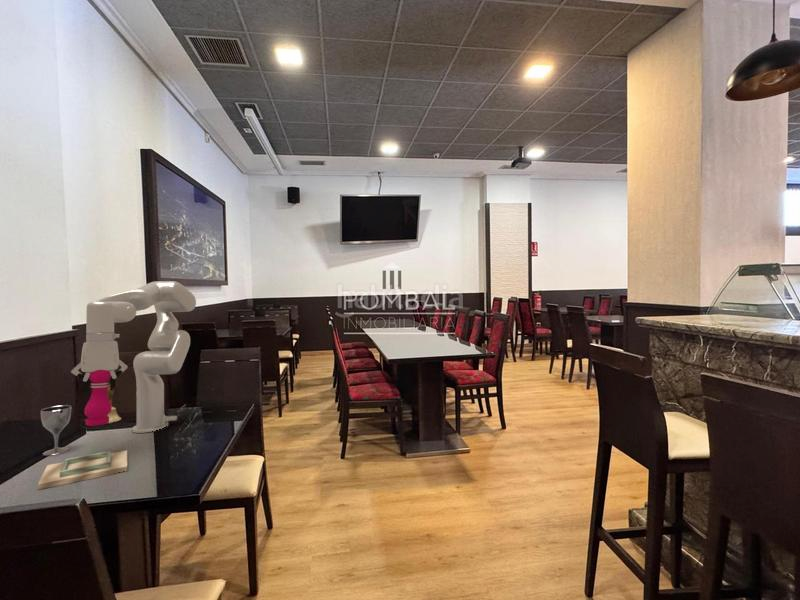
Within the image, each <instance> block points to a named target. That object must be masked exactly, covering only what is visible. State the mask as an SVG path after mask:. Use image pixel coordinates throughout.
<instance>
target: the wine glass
mask: <svg viewBox="0 0 800 600" xmlns="http://www.w3.org/2000/svg"><path fill="white" fill-rule="evenodd" d="M71 414H72V405H69V404H64V405H63V404H62V405H55V406H48V407H45V408H42V409H41V410H40V420H41V424H42V427H44V429H46V430H47V431H49V432H50V433H51V434H52V436H53V439H54V447H53V448H52V449H49V450H46V451H44V452H42V454H43V455H42V456H54V455H60V454H63V453H65V452H64V451H66V452H68V451H69V450H68V448H69V447H59V437H60V433H61V432H62V430H64V428H65V427H66V426H67V425H68V424H69V422H70V421H71V416H72V415H71ZM67 450H68V451H67ZM62 452H63V453H62Z"/></svg>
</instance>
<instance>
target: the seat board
mask: <svg viewBox="0 0 800 600" xmlns="http://www.w3.org/2000/svg"><path fill="white" fill-rule="evenodd" d="M123 471H125V472H128V450H122V451H117V452H112V451H111V450H108V451H102V452H97V453H96V452H95V453H92V454H86V455H80V456H75V457H70V458H65V459H64V460H63V462H58V463H56V462H55V463H52V464H47V465H46V467H45V469H44V471H43V473H42V475H41V477H40V478H39V481H38V482H37V483H38V484H37V490H38V491H40V490H44V489H49V488H53V487H59V486H64V485H69V484H72V483H77V482H82V481H86V480H92V479H95V478H96V479H97V478H101V477H102V478H103V477H105V476H111V475H115V474H114V473H116V474H119V473H118V472H121V473H124V472H123Z"/></svg>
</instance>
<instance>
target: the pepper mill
mask: <svg viewBox="0 0 800 600" xmlns="http://www.w3.org/2000/svg"><path fill="white" fill-rule="evenodd" d="M111 377H112V376H111V374H110V372H109V371H106V370H96V371H94V372H91V373H90V376H89V381H90V389H91V394H90V397H89V400H88V401H87V403H86V405H85V408H84V415H85V416H86V417H87V418H85V426H89V427H90V426H93V427H94V426H102V425H106V424H109V423H108V422H109V416H107V415H108V414H109V413H110V412H111V410H112V407H113V406H112V407H111V403H110V401H109V399H108V395H107V387H108V386H109V384H110V382H109V381H110V379H111Z"/></svg>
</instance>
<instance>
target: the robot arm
mask: <svg viewBox="0 0 800 600" xmlns="http://www.w3.org/2000/svg"><path fill="white" fill-rule="evenodd" d="M196 305H197V300H196V297H195V296H194V294H193V293H192V292H191V291H190V290H189V289H188V288H187V287H185V286H184V284H182V283H180V282H178V281H173V280H172V281H171V280H167V281H166V280H165V281H164V280H163V281H162V280H161V281H160V280H159V281H151V282H148V283H146V284H144V285H143V286H140V287H137V288H136V289H133V290H128V291H123V292H121V293H117V294H113V295H112V294H111V295H107V296H104V297H103V298H100V299H98V300H96V301H90V302H88V303H87V304H86V315H85V316H86V317H85V318H86V319H85V321H86V325H85V326H86V329H85V330H86V332H85V333H86V335H85V337H86V339H85V341H86V342H83V345H82V348H81V349H82V350H81V356H80V362H79V363H78V364H77V365H76V366H75V367H73V369H71V370H70V373H71V374H73V375H74V376H76V377H77V378H79V379H80V380H82V381H83V391H85V392H86V394H90V392H91V387H90V386H91V380H90V379H89V376H90V373H91V372H94V371H96V370H106V371H109V372H110V374H111V378H110V379H109V381H110V382H109V384H110V391H113V390H114V389H116V387H117V386H116V383H117V382H116V381H117V380H116V379H117V378H118V377H119V376H120V375H121V374H122V373H124V372H125V371H126V370H127V369H128V365H127V364H125V363H124V361H122V360H120V354H119V352H120V351H119V344H118V341H117V340H116V339H117V338H120V333H115V323H128V322H130V321H132V320H133V319H135V317H136V315H137V312H138V311H139V312H140V311H144V310H147V309H149V308H151V307H152V306H154V311H155V314H156V319H157V320H156V324H155V327H154V328H153V330H152V332H151V334H150V336H149V338H148V341H147V348H148V349H149V350H148V351H143V352H139V353H138V354H136V356H134V359H133V361H132V363H133V364H132V365H133V371H134V375H135V381H136V382H135V383H136V385H135V386H136V394H135V395H136V425H133V427H131V432H133V433H136V434H144V433H152V431H153V432H157V431H156V430H158V431H160V430H159V429H161V430H163V429H162V428H164V427H166V426H167V427H169V422H175V421H177V420H178V416H177V415H165V414H166V413H165V383H164V380H163V378H162V377H161V376H160V375H174V374H177V373H179V372H180V370H181V369H182V367H183V364H184V362H185V359H186V357H187V354H188V352H189V350H190V349H189V348H190V346H191V336H190V334H189V332H188V331H186V330H183V329H182V330H181V329H179V321H178V320H177V318H176V317H175V315H174V314H173V313H183V312H184V313H186V312H187V313H188V312H192V311H193V310H195V308H196ZM119 366H120V369H119ZM79 370H81V371H79ZM115 370H117V371H115ZM81 372H82V373H81ZM83 373H84V374H83ZM167 427H166V428H167ZM164 429H165V428H164Z"/></svg>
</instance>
